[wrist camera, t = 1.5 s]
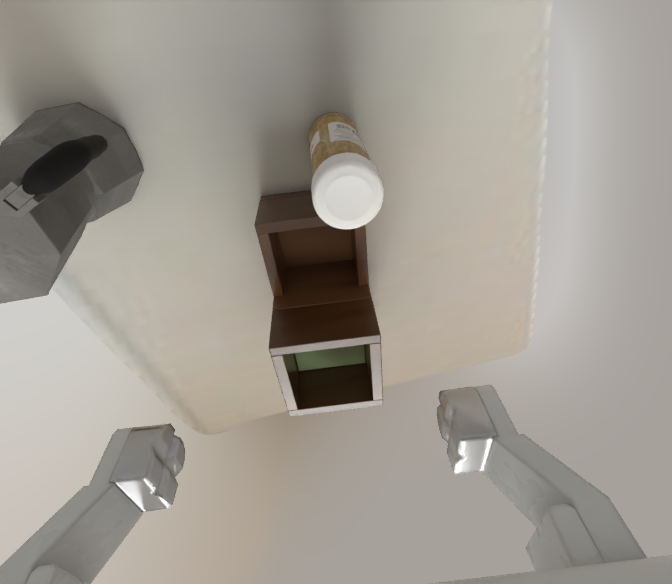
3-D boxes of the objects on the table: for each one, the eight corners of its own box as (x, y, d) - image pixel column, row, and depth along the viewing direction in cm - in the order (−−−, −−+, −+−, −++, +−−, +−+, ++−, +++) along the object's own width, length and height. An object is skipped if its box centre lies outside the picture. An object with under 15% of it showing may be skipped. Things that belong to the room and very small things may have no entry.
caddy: (260, 196, 36) (243, 270, 26) (356, 184, 36) (377, 253, 26) (292, 328, 47) (289, 416, 37) (365, 319, 47) (383, 405, 37)
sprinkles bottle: (298, 137, 33) (296, 197, 22) (336, 99, 31) (353, 144, 21) (332, 174, 35) (344, 244, 24) (368, 140, 34) (399, 200, 23)
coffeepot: (87, 233, 37) (-47, 372, 23) (-10, 153, 32) (-261, 268, 18) (201, 148, 33) (124, 254, 19) (111, 41, 28) (-90, 73, 13)
